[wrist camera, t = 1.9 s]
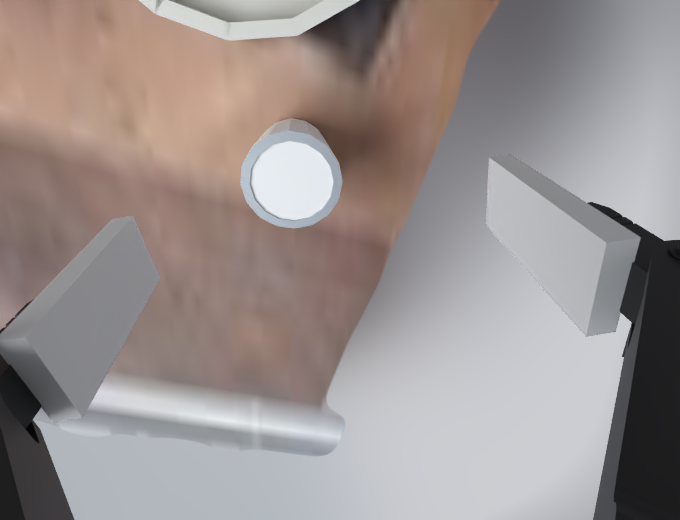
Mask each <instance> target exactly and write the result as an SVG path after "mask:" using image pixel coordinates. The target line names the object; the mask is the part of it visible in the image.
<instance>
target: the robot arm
mask: <svg viewBox="0 0 680 520" xmlns="http://www.w3.org/2000/svg"><path fill="white" fill-rule="evenodd" d="M486 226H487V227H488V228H489V229H490V230H491V231H492V233H494V235H495V236H496V237H497V238H498V239H499V240H500V241H501V243H502V244H503V245H504V246H505V247H506V248H507V249H508V250H509V252H510V253H511V254H512V255H513V256H514V257H515V258H516V259H517V260H518V261H519V262H520V264H521V265H522V266H523V267H524V268H525V269H526V270H527V271H528V273H529V274H530V275H531V276H532V277H533V278H534V279H535V280H536V282H537V283H538V284H539V285H540V286H541V287H542V288H543V289H544V290H545V291H546V293H547V294H548V295H549V296H550V297H551V298H552V299H553V300H554V301H555V303H556V304H557V305H558V306H559V307H560V308H561V309H562V310H563V312H564V313H565V314H566V315H567V316H568V317H569V318H570V319H571V320H572V322H573V323H574V324H575V325H576V326H577V327H578V328H579V329H580V331H582V333H583V334H584V335H585V336H592V335H598V334H604V333H611V332H616V328H617V324H618V321H619V317H620V313H622V314H623V315H624V316H625V317H626V318H627V319H629V320H630V321H631V322H632V324H631V328H630V331H629V334H628V338H627V341H626V345H625V348H624V352H623V355H622V357H624V361H623V366H622V371H621V377H620V382H619V387H618V392H617V398H616V403H615V408H614V413H613V419H612V424H611V430H610V434H609V440H608V445H607V450H606V456H605V461H604V466H603V471H602V476H601V482H600V487H599V492H598V498H597V503H596V508H595V513H594V518H593V520H680V240H671V241H663V240H662V239H660V238H658V237H657V236H655V235H654V234H652V233H650V232H649V231H647V230H645V229H644V228H642V227H640V226H639V225H637V224H633V222H632V221H630V220H629V219H627V218H626V217H622V215H620V214H619V213H617V212H616V211H614V210H612V209H611V208H608V207H605V206H602V205H599V204H596V203H593V202H590V203H586V202H584V201H583V200H581V199H580V198H578V197H577V196H575V195H573V194H572V193H570V192H569V191H567V190H566V189H564V188H563V187H561V186H559V185H558V184H556V183H555V182H553V181H552V180H550V179H548V178H547V177H545V176H544V175H542V174H541V173H539V172H538V171H536V170H534V169H533V168H531V167H530V166H528V165H526V164H525V163H523V162H522V161H520V160H519V159H517V158H516V157H514V156H512V155H511V154H507V155H501V156H495V157H489V171H488V193H487V214H486ZM159 280H160V276H159V274H158V272H157V270H156V267H155V265H154V263H153V261H152V258H151V256H150V254H149V252H148V249H147V247H146V245H145V243H144V240H143V238H142V236H141V234H140V231H139V229H138V227H137V225H136V222H135V220H134V218H133V216H129V217H122V218H116V219H112V220H111V221H110V222H109V223H108V224H107V225H106V226H105V227H104V228H103V229H102V230H101V231H100V232H99V233H98V234H97V235H96V236H95V237H94V238H93V239H92V240H91V241H90V242H89V243H88V244H87V245H86V246H85V247H84V248H83V249H82V251H81V252H80V253H79V254H78V255H77V256H76V257H75V258H74V259H73V260H72V261H71V262H70V263H69V264H68V265H67V266H66V267H65V268H64V269H63V270H62V271H61V272H60V273H59V274H58V275H57V276H56V277H55V278H54V279H53V280H52V281H51V282H50V283H49V284H48V285H47V286H46V288H45V289H44V290H43V291H42V292H41V293H40V294H39V295H38V296H37V297H36V298H35V299H33V300H32V301H30V302H29V303H27V304H26V305H25V306H24V307H23V308H22V309H21V310H20V311H19V312H18V313H17V314H16V315H15V318H12V319H11V320H10V321H9V322H8V323H7V324H6V327H5V328H2V329H1V330H0V520H74V518H73V515H72V513H71V510H70V507H69V504H68V502H67V499H66V496H65V494H64V491H63V488H62V486H61V483H60V480H59V478H58V475H57V472H56V470H55V467H54V465H53V462H52V459H51V457H50V454H49V451H48V449H47V446H46V444H45V441H44V438H43V435H42V433H41V430H40V428H39V427H38V426H37V425H36V423H35V422H34V421H33V418H34V417H35V415H36V414H37V412H38V411H39V409H40V408H41V407H42V409H43V410H44V411H45V412H46V414H47V415H48V416H49V418H50V419H51V420H52V421H53V422H59V421H65V420H71V419H78V418H83V416H84V414H85V412H86V410H87V409H88V407H89V405H90V403H91V401H92V400H93V398H94V396H95V394H96V393H97V391H98V389H99V387H100V385H101V384H102V382H103V380H104V378H105V376H106V375H107V373H108V371H109V369H110V367H111V366H112V364H113V362H114V360H115V359H116V357H117V355H118V353H119V351H120V350H121V348H122V346H123V344H124V342H125V341H126V339H127V337H128V335H129V334H130V332H131V330H132V328H133V326H134V325H135V323H136V321H137V319H138V317H139V316H140V314H141V312H142V310H143V309H144V307H145V305H146V303H147V301H148V300H149V298H150V296H151V294H152V292H153V291H154V289H155V287H156V285H157V283H158V282H159Z"/></svg>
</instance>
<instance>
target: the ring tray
mask: <svg viewBox="0 0 680 520" xmlns="http://www.w3.org/2000/svg"><path fill="white" fill-rule="evenodd" d="M139 1H140V2H142V3H143V4H144V5H145V6H146V7H148V8H149V9H150V10H151V11H152V12H153V13H155V14H157V15H160V16H162V17H165V18H168V19H171V20H173V21H176V22H179V23H181V24H184V25H187V26H190V27H192V28H195V29H198V30H201V31H203V32H206V33H209V34H211V35H214V36H217V37H220V38H222V39H225V40H228V41H229V40H243V39H257V38H272V37H286V36H298V35H300V34H301V33H303V32H305V31H307V30H309V29H310V28H312V27H314V26H316V25H317V24H319V23H321V22H323V21H324V20H326V19H328V18H330V17H331V16H333V15H335V14H337V13H338V12H340V11H342V10H344V9H345V8H347V7H349V6H351V5H353V4H354V3H356V2H358V1H360V0H139Z"/></svg>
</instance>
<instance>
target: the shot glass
mask: <svg viewBox="0 0 680 520" xmlns="http://www.w3.org/2000/svg"><path fill="white" fill-rule="evenodd" d="M342 182H343V180H342V175H341V171H340V166H339V162H338V160H337V159H336V157H335V155H334V154H333V152H332V150H331V149H330V147H329V145H328V144H327V142H326V140H325V139H324V137H323V136H322V135H321V133H320V132H319V130H318V129H317V128H316V127H314V126H313V125H311V124H310V123H308V122H307V121H304V120H298V119H293V118H290V119H286V120H282V121H278V122H276V123H275V124H274V125H272V126H271V127H270V128H268V129H267V130H266V131H265V132H264V134H263V135H262V136H261V137H260V138H259V139H258V141H257V142H256V143H255V144H254V145H253V146H252V148H251V149H250V151H249V153H248V155H247V157H246V158H245V160H244V162H243V164H242V170H241V183H240V184H241V187H242V190H243V193H244V196H245V199H246V202H247V203H248V204H249V206H250V207H251V208H252V209H253V210H254V211H255V212H256V214H257V215H258V216H259V217H261V218H262V219H264V220H266V221H268V222H270V223H272V224H274V225H275V226H281V227H288V228H300V227H304V226H309V225H313V224H315V223H316V222H318V221H319V220H321V219H322V218H324V217H325V216H327V215H328V214H329V213H330V212H331V210H332V209H333V207H334V206H335V204H336V203H337V201H338V200H339V197H340V192H341V187H342Z"/></svg>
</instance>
